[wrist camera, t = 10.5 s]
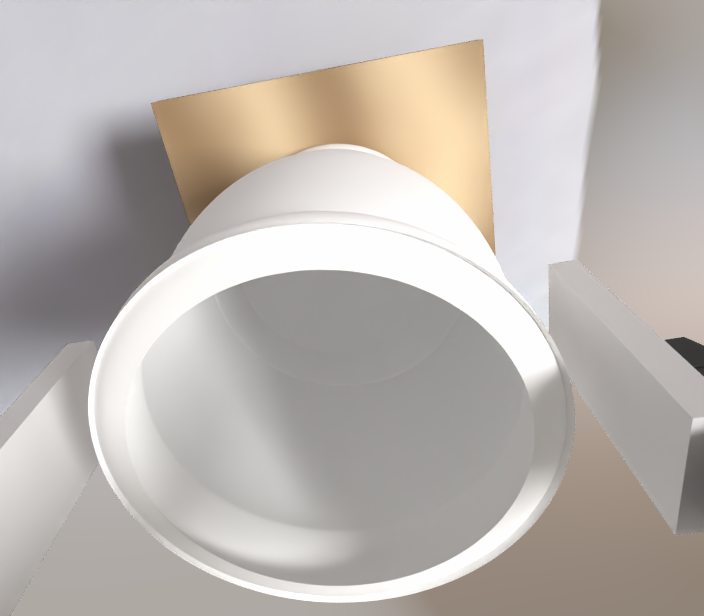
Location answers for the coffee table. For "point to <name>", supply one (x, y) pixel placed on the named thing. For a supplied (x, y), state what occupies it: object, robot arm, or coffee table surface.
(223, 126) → the stool
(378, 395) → the jar
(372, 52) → the coffee table surface
